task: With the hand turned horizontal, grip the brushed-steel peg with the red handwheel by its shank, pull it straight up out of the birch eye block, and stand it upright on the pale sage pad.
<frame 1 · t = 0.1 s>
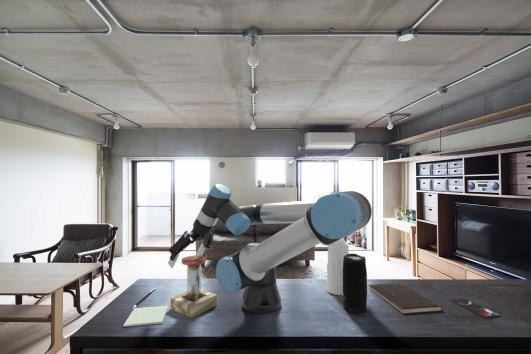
hand: (184, 261, 109), 15 cm above the kitchen counter, tool tilted 35°, fingers open, 13 cm apart
pen: (145, 299, 110), on the kitchen counter
portable speaker: (354, 309, 99), on the kitchen counter
decorative vase: (338, 290, 116), on the kitchen counter
sage pad: (147, 316, 94), on the kitchen counter
steel peg: (194, 282, 101), in the eye block
eye block: (194, 306, 101), on the kitchen counter
smartphone: (472, 309, 100), on the kitchen counter
hardcover book: (401, 300, 108), on the kitchen counter
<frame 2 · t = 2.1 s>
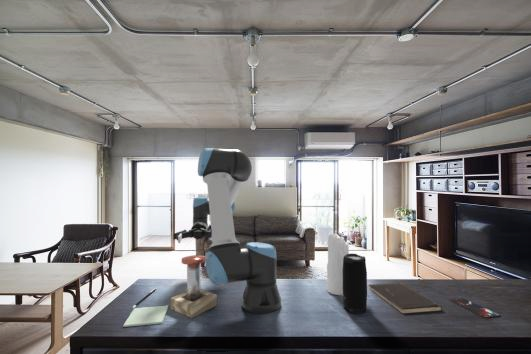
hand: (195, 239, 111), 24 cm above the kitchen counter, tool horizontal, fingers open, 13 cm apart
nothing on the kitchen counter moved.
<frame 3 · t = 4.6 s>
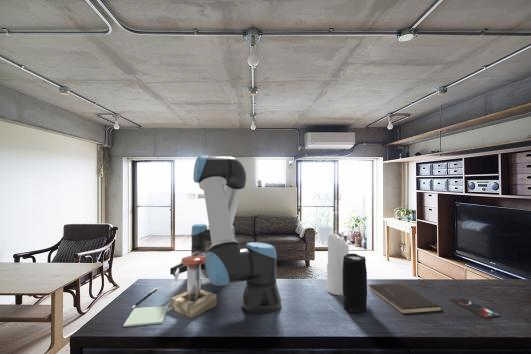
hand: (193, 276, 105), 10 cm above the kitchen counter, tool horizontal, fingers open, 13 cm apart
nothing on the kitchen counter moved.
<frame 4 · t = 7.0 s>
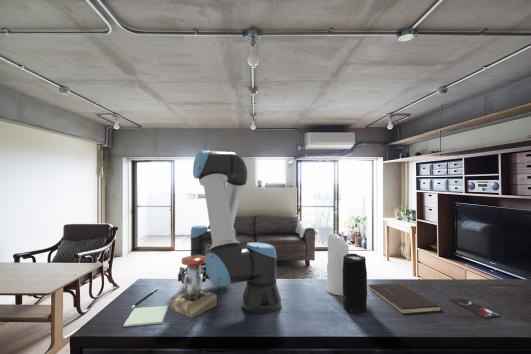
hand: (192, 284, 96), 11 cm above the kitchen counter, tool horizontal, fingers closed on steel peg, 5 cm apart
steel peg: (193, 282, 101), in the eye block, touching gripper
everything else where it was.
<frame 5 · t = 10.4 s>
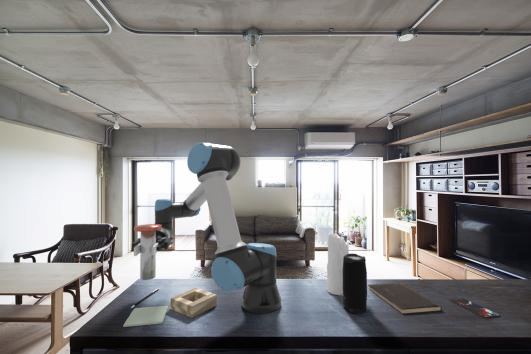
hand: (144, 251, 90), 24 cm above the kitchen counter, tool horizontal, fingers closed on steel peg, 5 cm apart
steel peg: (148, 251, 95), point 23 cm above the kitchen counter, touching gripper
everything else where it was.
when the fingers open (12 cm above the kitchen counter, at t = 13.9 s): steel peg stays where it is, resting on sage pad.
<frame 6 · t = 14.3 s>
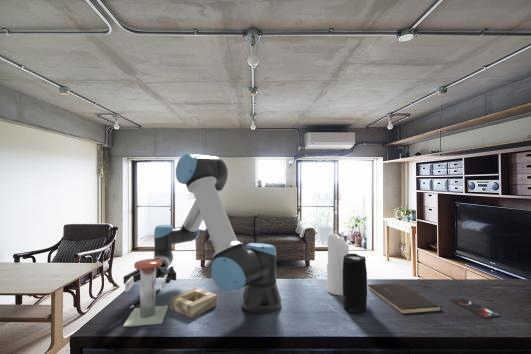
hand: (144, 286, 91), 12 cm above the kitchen counter, tool horizontal, fingers open, 11 cm apart
steel peg: (148, 288, 95), on the sage pad, point 10 cm above the kitchen counter
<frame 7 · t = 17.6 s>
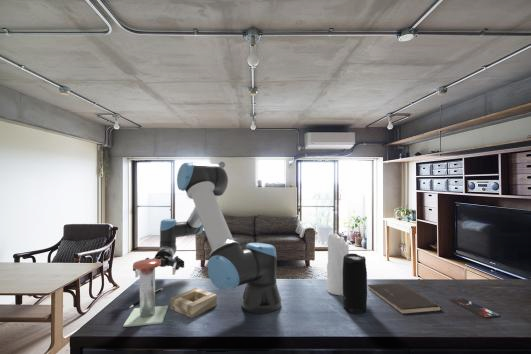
hand: (155, 272, 104), 12 cm above the kitchen counter, tool horizontal, fingers open, 13 cm apart
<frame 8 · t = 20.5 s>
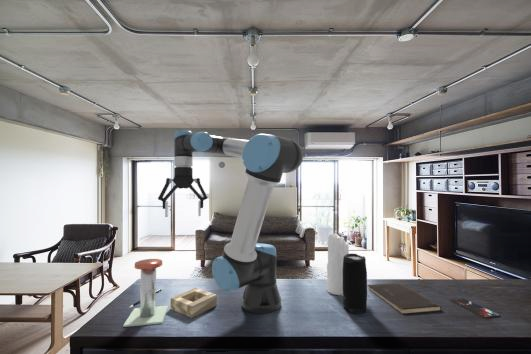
hand: (183, 216, 115), 33 cm above the kitchen counter, tool pointing down, fingers open, 13 cm apart
at the end: steel peg inside the target area on the sage pad (0.1 cm from its centre), point 9.7 cm above the sage pad's base; steel peg tilted 1°; the gripper is holding nothing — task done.
